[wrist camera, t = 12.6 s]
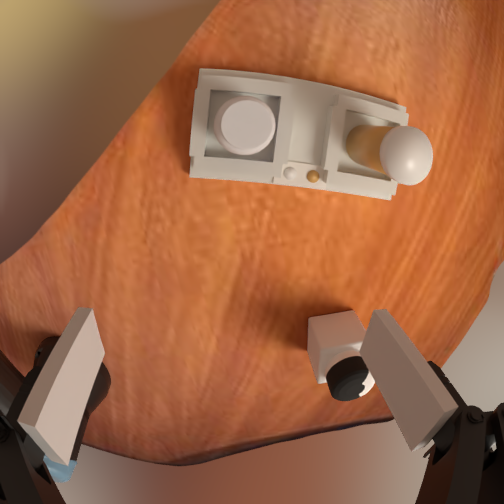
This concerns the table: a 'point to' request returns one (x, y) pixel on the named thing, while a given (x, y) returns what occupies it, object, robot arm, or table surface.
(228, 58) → the table surface
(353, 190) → the rack
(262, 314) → the table surface
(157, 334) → the table surface
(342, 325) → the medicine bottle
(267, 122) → the pill bottle
